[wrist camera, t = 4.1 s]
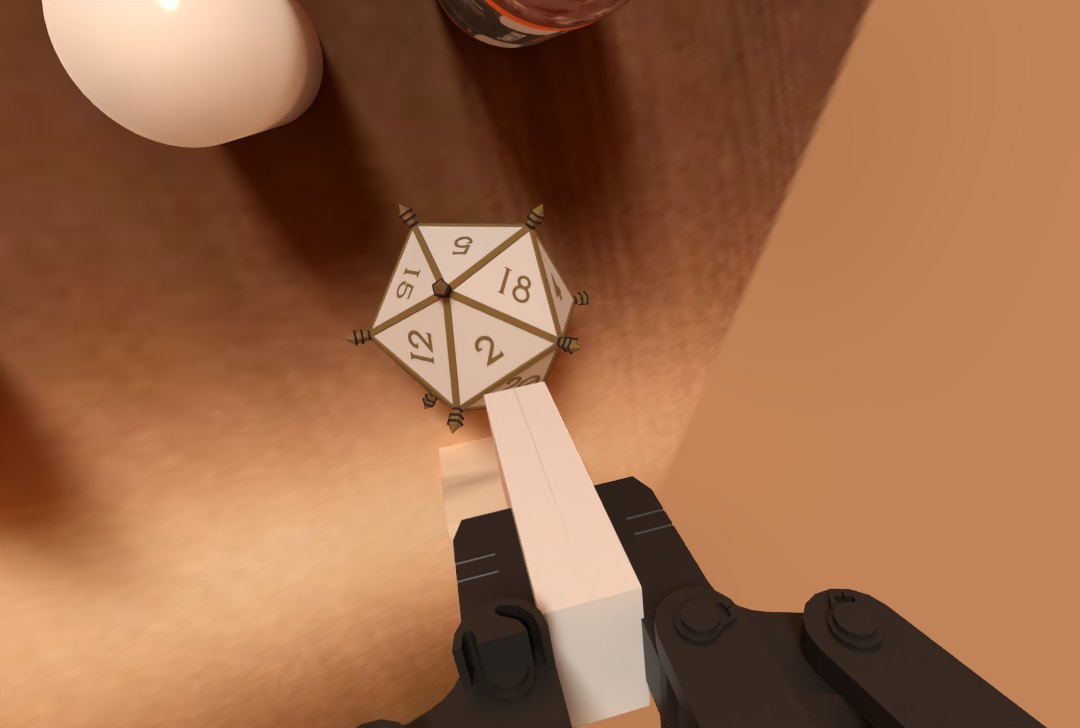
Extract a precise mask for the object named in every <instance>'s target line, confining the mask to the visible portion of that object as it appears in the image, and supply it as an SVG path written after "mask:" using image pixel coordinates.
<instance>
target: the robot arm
mask: <svg viewBox="0 0 1080 728" xmlns="http://www.w3.org/2000/svg"><path fill="white" fill-rule="evenodd" d="M484 399H485V404H486V409H487V414H488V419H489V424H490V429H491V434H492V439H493V443H494V448H495V453H496V458H497V463H498V468H499V473H500V478H501V483H502V487H503V491H504V495H505V499H506V503H507V508H508V509H504V510H500V511H496V512H492V513H488V514H484V515H480V516H475V517H471V518H467V519H463V520H461V522H460V525H459V527H458V530H457V532H456V534H455V537H454V539H453V547H454V556H455V564H456V575H457V582H458V593H459V603H460V612H461V623H460V625H459V627H458V629H457V630H456V632H455V634H454V641H453V648H452V652H453V655H454V659H455V662H456V665H457V669H458V672H459V675H460V677H459V679H458V681H457V682H456V684H455V686H454V688H453V689H452V690H451V691H450V693H449V694H448V695H447V696H446V697H445V698H444V699H443V700H442V701H441V702H440V703H438V704H437V705H436V706H435V707H433V708H432V709H431V710H429V711H428V712H426V713H425V714H423V715H422V716H420V717H418V718H417V719H415V720H414V721H412V722H411V723H409V724H407V725H406V726H403V725H401V724H400V723H399V722H394V721H388V720H382V719H380V720H376V721H372V722H368V723H364V724H361V725H360V726H358V727H356V728H576V727H579V726H583V725H586V724H589V723H593V722H596V721H600V720H603V719H607V718H610V717H613V716H617V715H620V714H623V713H627V712H630V711H633V710H637V709H640V708H643V707H646V706H650V693H649V689H650V691H651V694H652V696H653V698H654V701H655V703H656V706H657V708H658V711H659V713H660V720H661V728H1046V727H1045V726H1044V725H1042V724H1041V723H1040V722H1039V721H1037V720H1036V719H1035V718H1033V717H1032V716H1031V715H1029V714H1028V713H1027V712H1026V711H1024V710H1023V709H1022V708H1020V707H1019V706H1018V705H1016V704H1015V703H1014V702H1012V701H1011V700H1010V699H1009V698H1007V697H1006V696H1004V695H1003V694H1002V693H1001V692H999V691H998V690H997V689H995V688H994V687H993V686H992V685H990V684H989V683H988V682H986V681H985V680H984V679H982V678H981V677H980V676H978V675H977V674H976V673H974V672H973V671H972V670H971V669H969V668H968V667H967V666H965V665H964V664H963V663H961V662H960V661H959V660H958V659H956V658H955V657H954V656H952V655H951V654H950V653H948V652H947V651H946V650H944V649H943V648H942V647H941V646H939V645H938V644H937V643H935V642H934V641H933V640H931V639H930V638H929V637H927V636H926V635H925V634H924V633H922V632H921V631H920V630H918V629H917V628H916V627H914V626H913V625H912V624H910V623H909V622H908V621H907V620H905V619H904V618H903V617H901V616H900V615H899V614H897V613H896V612H895V611H893V610H892V609H891V608H890V607H888V606H887V605H885V604H884V603H882V602H880V601H878V600H877V599H875V598H873V597H871V596H870V595H867V594H863V593H860V592H857V591H854V590H850V589H829V590H826V591H823V592H820V593H817V594H815V595H814V596H813V597H812V598H811V599H810V600H809V601H808V602H807V603H806V604H805V609H804V613H790V612H763V611H755V610H750V609H746V608H743V607H740V606H737V605H736V604H734V602H733V601H732V600H731V599H730V598H728V597H726V596H724V595H722V594H721V593H719V592H717V591H715V590H714V589H713V587H712V586H711V585H710V584H709V582H708V581H707V579H706V578H705V576H704V574H703V573H702V571H701V569H700V568H699V566H698V565H697V563H696V561H695V560H694V558H693V557H692V555H691V553H690V551H689V550H688V548H687V547H686V546H685V543H684V542H683V540H682V538H681V537H680V535H679V534H678V532H677V530H676V529H675V527H674V526H673V525H672V522H671V520H670V519H669V517H668V515H667V514H666V512H665V511H663V507H662V506H661V504H660V502H659V501H658V499H657V498H656V496H655V494H654V493H653V491H652V489H650V488H649V487H647V486H646V485H644V484H643V483H641V482H640V481H639V480H637V479H636V478H634V477H633V476H631V477H627V478H623V479H619V480H615V481H611V482H607V483H603V484H599V485H595V486H593V483H592V481H591V479H590V477H589V475H588V473H587V471H586V469H585V466H584V464H583V462H582V460H581V458H580V456H579V454H578V452H577V450H576V447H575V445H574V443H573V441H572V439H571V437H570V435H569V433H568V431H567V428H566V426H565V424H564V422H563V420H562V418H561V416H560V414H559V411H558V409H557V407H556V405H555V403H554V401H553V399H552V397H551V395H550V392H549V390H548V388H547V386H546V384H545V382H539V383H535V384H530V385H526V386H521V387H517V388H512V389H508V390H503V391H498V392H494V393H489V394H485V395H484Z"/></svg>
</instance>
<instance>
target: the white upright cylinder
mask: <svg viewBox="0 0 1080 728" xmlns="http://www.w3.org/2000/svg"><path fill="white" fill-rule="evenodd" d="M42 3H43V12H44V18H45V22H46V26H47V30H48V34H49V36H50V39H51V41H52V44H53V47H54V49H55V51H56V53H57V55H58V57H59V59H60V61H61V63H62V65H63V66H64V68H65V69H66V71H67V72H68V74H69V76H70V77H71V79H72V80H73V81H74V83H75V84H76V85H77V86H78V87H79V89H80V90H81V91H82V92H83V94H84V95H85V96H86V97H87V98H88V99H89V100H90V101H91V102H92V103H93V104H94V105H95V106H96V107H98V108H99V109H100V110H101V111H102V112H104V113H105V114H106V115H107V116H109V117H110V118H111V119H113V120H114V121H116V122H117V123H119V124H120V125H122V126H123V127H125V128H127V129H129V130H131V131H133V132H134V133H136V134H138V135H141V136H143V137H146V138H148V139H151V140H153V141H157V142H160V143H164V144H167V145H173V146H180V147H196V148H197V147H208V146H214V145H218V144H223V143H226V142H229V141H233V140H236V139H239V138H243V137H246V136H249V135H253V134H256V133H259V132H263V131H266V130H269V129H273V128H276V127H279V126H282V125H285V124H288V123H290V122H292V121H293V120H295V119H297V118H298V117H299V116H301V115H302V114H303V113H304V112H305V111H306V110H307V109H308V108H309V107H310V106H311V104H312V103H313V101H314V100H315V98H316V96H317V93H318V91H319V88H320V85H321V81H322V76H323V54H322V49H321V44H320V41H319V38H318V35H317V32H316V30H315V28H314V25H313V23H312V21H311V20H310V18H309V16H308V15H307V13H306V12H305V10H304V9H303V8H302V6H301V5H300V4H299V3H298V2H297V1H296V0H42Z"/></svg>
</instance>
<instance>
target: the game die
mask: <svg viewBox="0 0 1080 728" xmlns="http://www.w3.org/2000/svg"><path fill="white" fill-rule="evenodd" d="M412 210H413V209H412V208H411V209H409V208H407V207H405V206H403V205H401V204H399V212H400V216H399V218H402V220H403V221H404V222H403V223H406V224H407V225H408V226H409V227H410V230H409V233H408V235H407V238H406V240H405V243H404V245H403V248H402V250H401V253H400V255H399V258H398V260H397V263H396V265H395V268H394V270H393V273H392V275H391V278H390V280H389V283H388V285H387V288H386V290H385V292H384V295H383V297H382V300H381V302H380V305H379V307H378V310H377V312H376V315H375V317H374V320H373V322H372V325H371V327H370V330H369V331H362V330H360V331H355V330H353V332H352V333H351V334H349V335H348V336H347V337H346V338H344V340H347V341H349V342H352V343H354V344H356V345H357V344H359V343H362V344H364V342H365V341H367V340H372V341H373V342H374V343H375V344H376V345H377V346H379V347H380V348H381V349H382V350H383V351H384V352H385V353H386V354H387V355H388V356H390V357H391V358H392V359H393V360H394V361H395V362H396V363H397V364H398V365H400V366H401V367H402V368H403V369H404V370H405V371H406V372H407V373H408V374H409V375H411V376H412V377H413V378H414V379H415V380H416V381H417V382H418V383H419V384H421V385H422V386H423V387H424V388H425V389H426V390H427V391H428V392H429V393H428V394H425V398H423V402H424V406H425V409H427V408H429V407H433V406H434V404H435V402H436V400H437V399H438V400H440V401H441V402H443V403H444V404H445V405H447V406H448V407H449V408H451V409H452V410H453V411H452V413H450V415H449V419H448V422H447V425H449V427H450V429H451V432H452V434H453V433H454V432H455V431H456V430H457V429H458V428H459V427H460V426H463V423H462V420H464V417H463V416H462V412H464V411H470V410H477V409H484V408H486V404H485V399H484V395H485V394H489V393H494V392H498V391H503V390H508V389H512V388H517V387H521V386H526V385H530V384H535V383H539V382H545V383H546V381H547V379H548V376H549V374H550V372H551V370H552V367H553V365H554V363H555V361H556V358H557V356H558V354H559V352H560V349H561V347H562V348H563V350H564V351H565V352H567V351H568V352H569V353H570V354H572V353H573V352H575V351H577V350H580V349H582V347H581V346H580V344H579V343H578V339H577V338H572V337H565V336H566V333H567V329H568V326H569V323H570V319H571V316H572V313H573V310H574V306H575V304H578V305H584V304H588V303H589V302H590V301H591V300H592V298H593V296H591V295H589V294H587V293H586V292H585V291H583V293H580V292H579V293H578V294H577V295H576V296H573V295H572V293H571V291H570V290H569V288H568V286H567V284H566V283H565V281H564V279H563V278H562V276H561V274H560V273H559V271H558V269H557V267H556V266H555V264H554V262H553V261H552V259H551V257H550V255H549V254H548V252H547V250H546V249H545V247H544V245H543V243H542V242H541V240H540V238H539V237H538V235H537V233H536V231H535V230H534V229H535V227H536V226H537V225H538V224H541V220H542V219H544V218H545V217H544V216H543V204H541V205H540V206H538V207H536V208H535V209H531V211H530V212H531V213H530V214H529V215H528V217H527V218H528V221H527V223H526V224H506V223H418V222H417V221H416V218H415V216H416V214H413V212H412Z"/></svg>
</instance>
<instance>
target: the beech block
mask: <svg viewBox="0 0 1080 728" xmlns="http://www.w3.org/2000/svg"><path fill="white" fill-rule="evenodd" d="M439 455H440V465H441V475H442V485H443V494H444V504H445V514H446V524H447V530H448V533H449V537H450V541H451V544H452V548H453V552H454V547H453V539H454V537H455V534H456V532H457V530H458V527H459V525H460V522H461V520H463V519H467V518H471V517H475V516H480V515H484V514H488V513H492V512H496V511H500V510H504V509H508V508H507V503H506V499H505V495H504V491H503V487H502V483H501V478H500V473H499V468H498V463H497V458H496V453H495V448H494V443H493V439H492V436H491V437H486V438H482V439H478V440H474V441H469V442H465V443H461V444H456V445H452V446H448V447H443V448H439Z"/></svg>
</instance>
